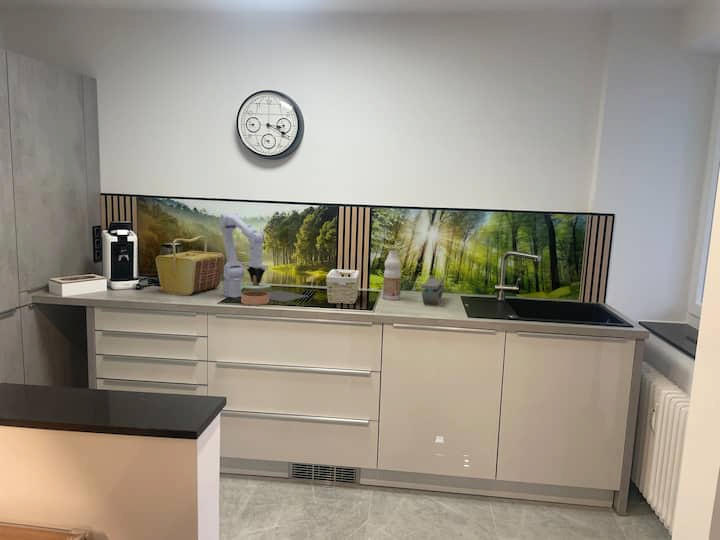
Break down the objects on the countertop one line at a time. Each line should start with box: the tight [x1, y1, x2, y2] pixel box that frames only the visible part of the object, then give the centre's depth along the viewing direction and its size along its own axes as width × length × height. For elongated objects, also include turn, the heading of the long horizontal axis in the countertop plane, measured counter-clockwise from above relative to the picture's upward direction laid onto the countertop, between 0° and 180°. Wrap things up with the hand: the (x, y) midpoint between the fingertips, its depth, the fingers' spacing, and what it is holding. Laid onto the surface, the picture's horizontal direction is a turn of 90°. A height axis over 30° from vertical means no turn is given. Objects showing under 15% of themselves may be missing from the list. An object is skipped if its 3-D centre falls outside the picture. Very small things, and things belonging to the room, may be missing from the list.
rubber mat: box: [268, 290, 309, 304], centre depth 311 cm, size 22×20×1 cm
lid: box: [241, 275, 272, 290], centre depth 295 cm, size 15×15×6 cm
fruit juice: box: [382, 247, 402, 301], centre depth 314 cm, size 9×9×28 cm
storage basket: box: [325, 268, 360, 305], centre depth 309 cm, size 24×16×15 cm
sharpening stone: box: [421, 277, 445, 306], centre depth 310 cm, size 25×8×11 cm, turn 164°
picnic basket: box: [155, 235, 225, 296], centre depth 320 cm, size 29×26×30 cm
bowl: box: [240, 290, 270, 306], centre depth 296 cm, size 14×14×4 cm
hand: (256, 282), depth 295 cm, fingers closed on lid, 3 cm apart
